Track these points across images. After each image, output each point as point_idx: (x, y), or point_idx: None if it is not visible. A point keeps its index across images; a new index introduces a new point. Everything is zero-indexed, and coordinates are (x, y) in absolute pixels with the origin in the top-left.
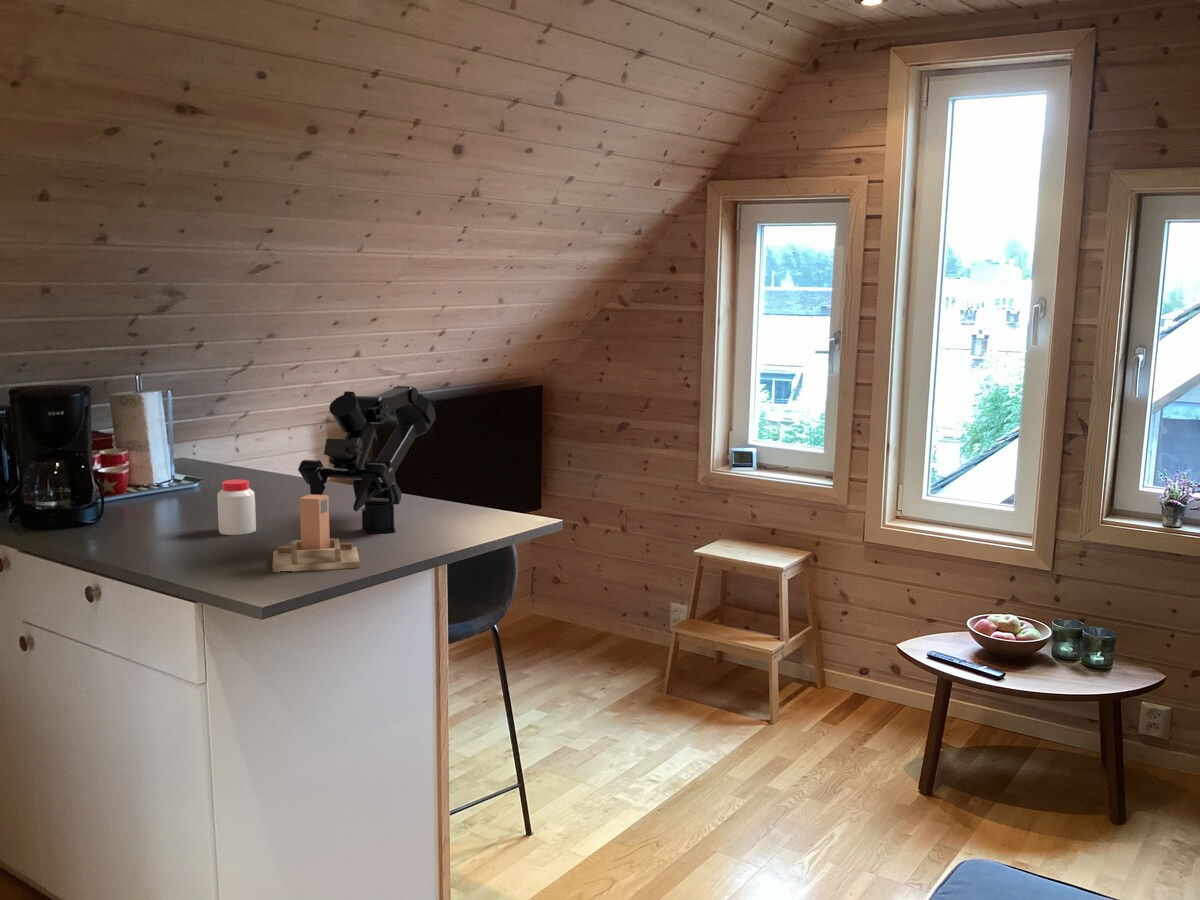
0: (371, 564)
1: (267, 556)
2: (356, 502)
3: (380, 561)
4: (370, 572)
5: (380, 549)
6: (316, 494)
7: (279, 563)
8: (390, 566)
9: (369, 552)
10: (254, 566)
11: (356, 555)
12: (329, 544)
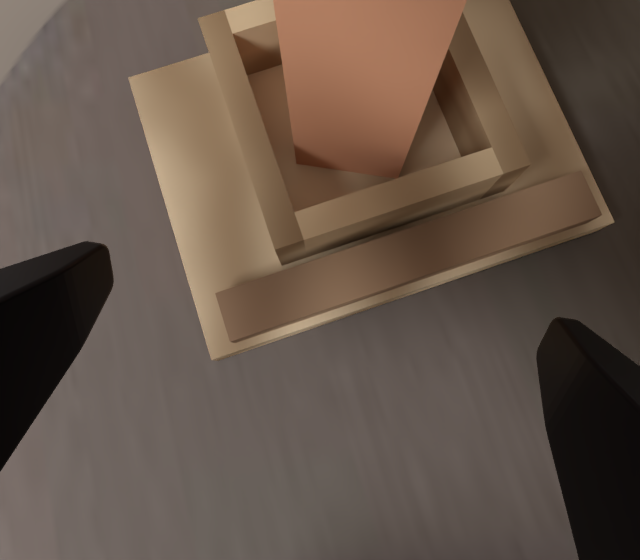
0: (99, 151)
1: (632, 240)
2: (43, 261)
3: (66, 205)
4: (80, 31)
5: (106, 441)
6: (622, 461)
7: (482, 10)
8: (8, 127)
9: (152, 370)
10: (605, 70)
11: (167, 178)
12: (293, 132)
